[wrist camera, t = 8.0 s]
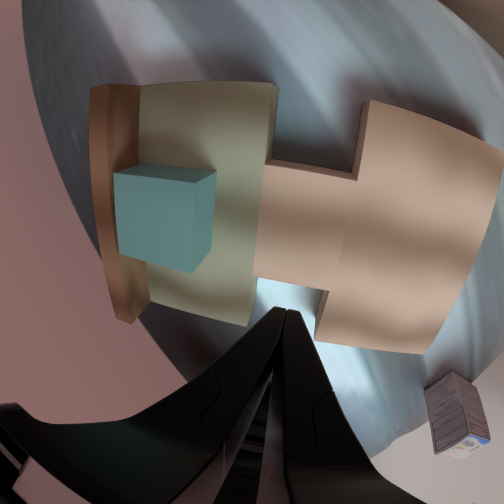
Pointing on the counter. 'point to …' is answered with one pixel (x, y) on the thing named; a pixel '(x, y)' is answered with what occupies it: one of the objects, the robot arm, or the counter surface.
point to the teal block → (165, 214)
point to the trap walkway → (300, 211)
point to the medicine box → (456, 417)
